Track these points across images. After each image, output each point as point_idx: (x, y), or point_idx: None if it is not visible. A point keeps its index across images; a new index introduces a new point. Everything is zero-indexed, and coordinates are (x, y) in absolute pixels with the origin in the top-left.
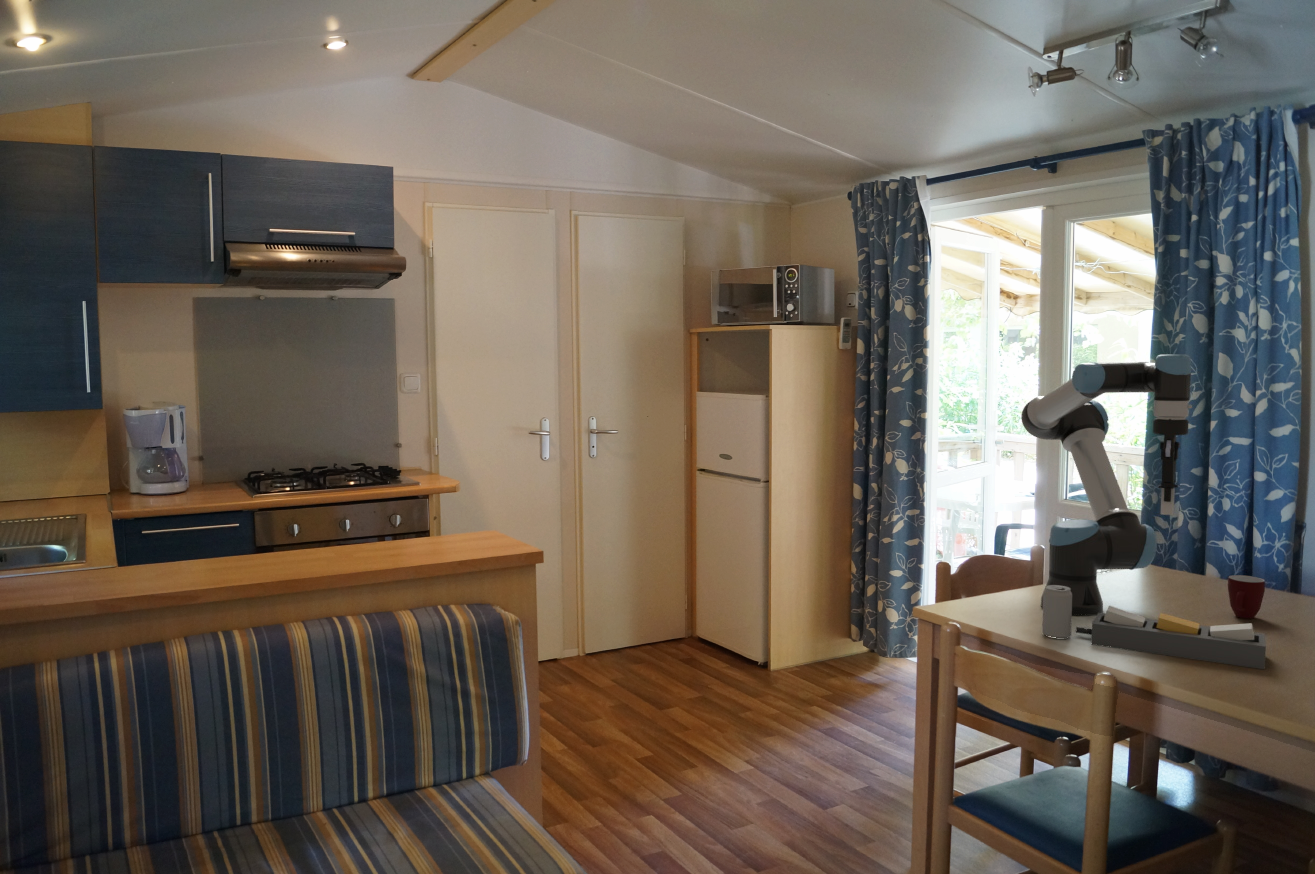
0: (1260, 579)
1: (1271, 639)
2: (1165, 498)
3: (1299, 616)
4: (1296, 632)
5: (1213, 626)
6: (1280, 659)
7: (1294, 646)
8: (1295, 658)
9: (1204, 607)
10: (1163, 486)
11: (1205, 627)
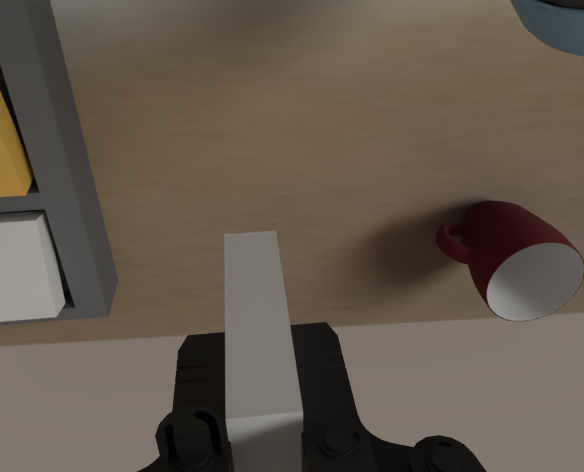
0: (552, 308)
1: None
2: (177, 369)
3: None
4: (378, 313)
5: (28, 228)
6: (112, 306)
7: None
8: (143, 325)
9: (563, 123)
10: (166, 466)
11: (60, 199)
